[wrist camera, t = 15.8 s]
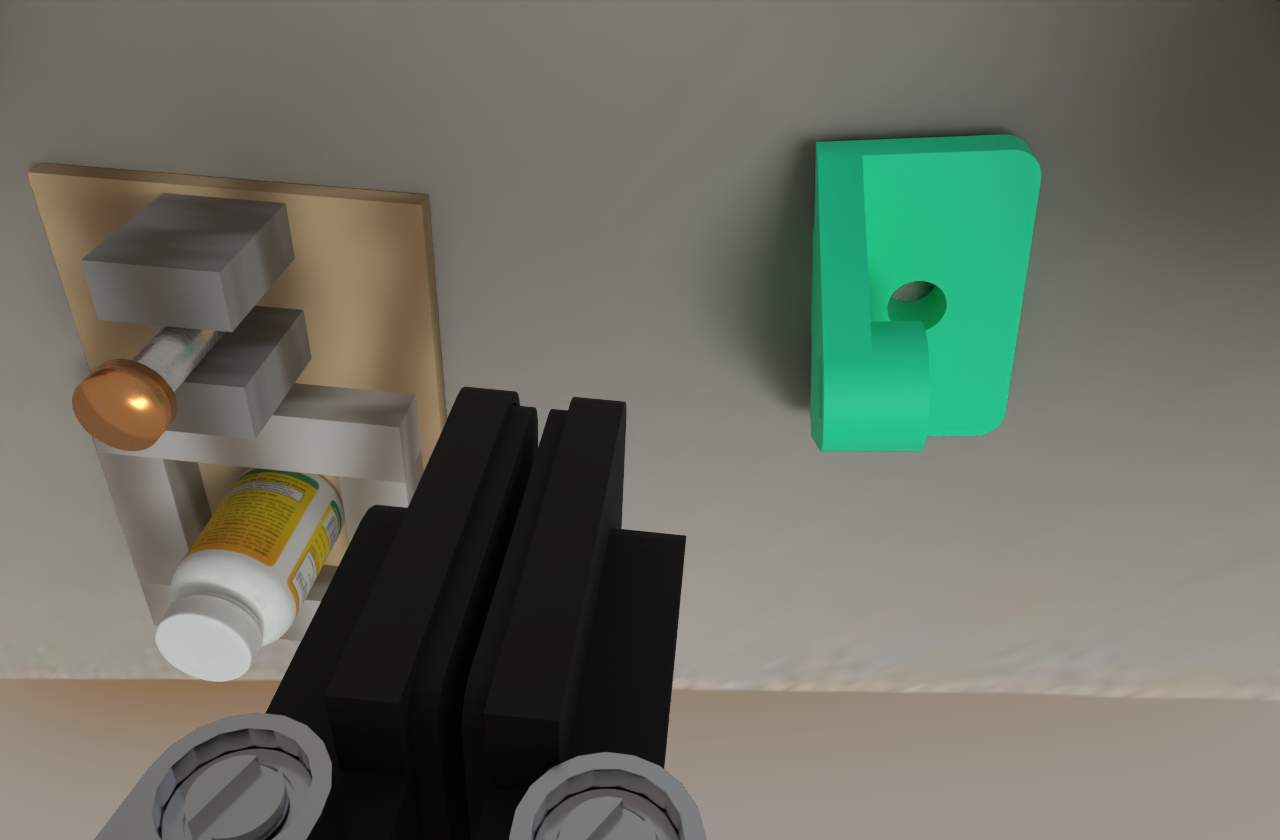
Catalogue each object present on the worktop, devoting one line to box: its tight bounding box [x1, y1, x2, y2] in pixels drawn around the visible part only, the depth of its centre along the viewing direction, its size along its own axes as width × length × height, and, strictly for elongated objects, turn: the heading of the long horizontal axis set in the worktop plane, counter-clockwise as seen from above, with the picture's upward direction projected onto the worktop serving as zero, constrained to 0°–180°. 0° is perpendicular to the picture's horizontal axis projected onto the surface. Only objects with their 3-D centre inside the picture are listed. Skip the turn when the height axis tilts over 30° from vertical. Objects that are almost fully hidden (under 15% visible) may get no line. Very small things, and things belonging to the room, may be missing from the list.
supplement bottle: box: [155, 468, 344, 682], centre depth 46 cm, size 5×5×10 cm
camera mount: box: [810, 134, 1041, 452], centre depth 37 cm, size 12×8×10 cm, turn 4°
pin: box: [72, 326, 225, 451], centre depth 38 cm, size 3×3×9 cm
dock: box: [27, 163, 447, 641], centre depth 45 cm, size 16×23×7 cm
